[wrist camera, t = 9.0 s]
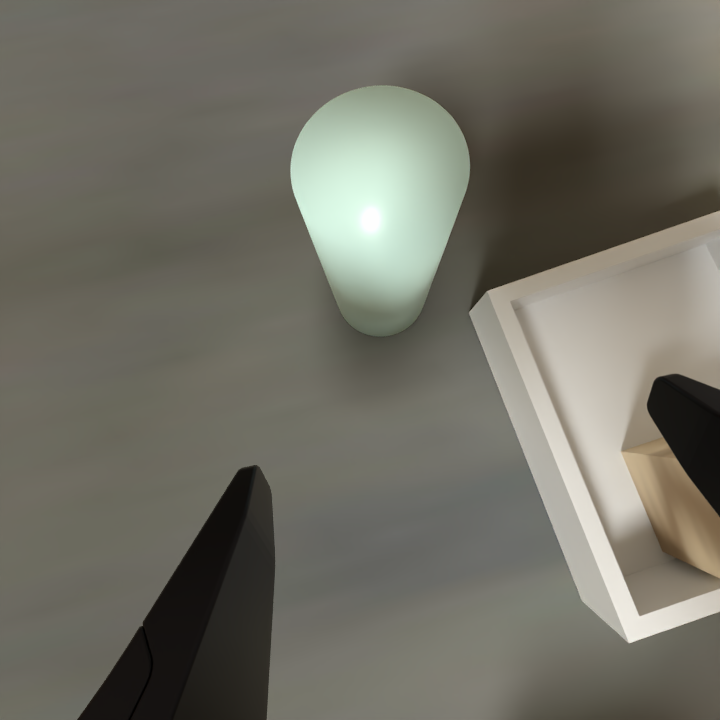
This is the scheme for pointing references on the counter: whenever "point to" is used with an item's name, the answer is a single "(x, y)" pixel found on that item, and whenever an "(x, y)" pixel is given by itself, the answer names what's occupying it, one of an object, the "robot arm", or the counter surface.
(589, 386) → the tote
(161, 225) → the counter surface
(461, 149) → the canister
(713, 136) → the counter surface
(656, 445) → the cube
